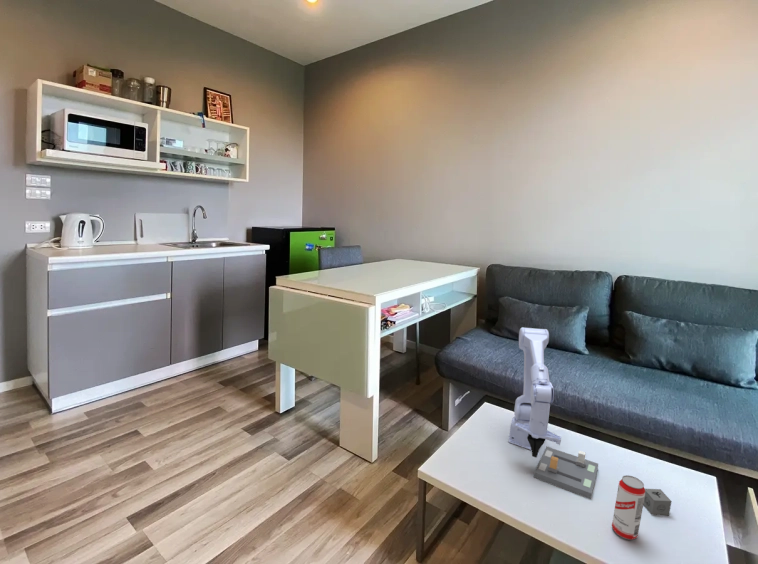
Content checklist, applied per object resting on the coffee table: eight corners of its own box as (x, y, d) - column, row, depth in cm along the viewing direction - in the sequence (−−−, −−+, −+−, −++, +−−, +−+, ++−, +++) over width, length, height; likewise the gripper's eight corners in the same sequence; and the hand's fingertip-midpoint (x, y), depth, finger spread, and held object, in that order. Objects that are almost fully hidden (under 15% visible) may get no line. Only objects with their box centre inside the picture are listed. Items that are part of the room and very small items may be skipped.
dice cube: (657, 503, 124) (660, 489, 123) (668, 516, 119) (671, 501, 118) (641, 502, 124) (643, 488, 123) (651, 515, 119) (654, 500, 118)
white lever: (575, 464, 138) (577, 452, 137) (576, 461, 140) (578, 449, 139) (584, 467, 137) (586, 455, 136) (585, 464, 139) (587, 452, 138)
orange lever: (547, 470, 135) (549, 458, 134) (549, 466, 137) (550, 455, 136) (556, 473, 133) (558, 461, 132) (558, 470, 135) (559, 458, 134)
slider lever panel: (533, 477, 134) (534, 471, 134) (545, 451, 149) (546, 445, 149) (590, 499, 125) (591, 493, 125) (597, 468, 140) (598, 463, 139)
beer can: (628, 545, 108) (637, 492, 105) (606, 528, 114) (614, 477, 111) (642, 536, 111) (651, 485, 108) (620, 520, 117) (628, 471, 114)
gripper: (513, 416, 136) (510, 453, 138) (560, 431, 128) (555, 469, 130) (519, 408, 142) (515, 443, 144) (564, 421, 134) (559, 458, 136)
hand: (534, 455), depth 138 cm, fingers closed
